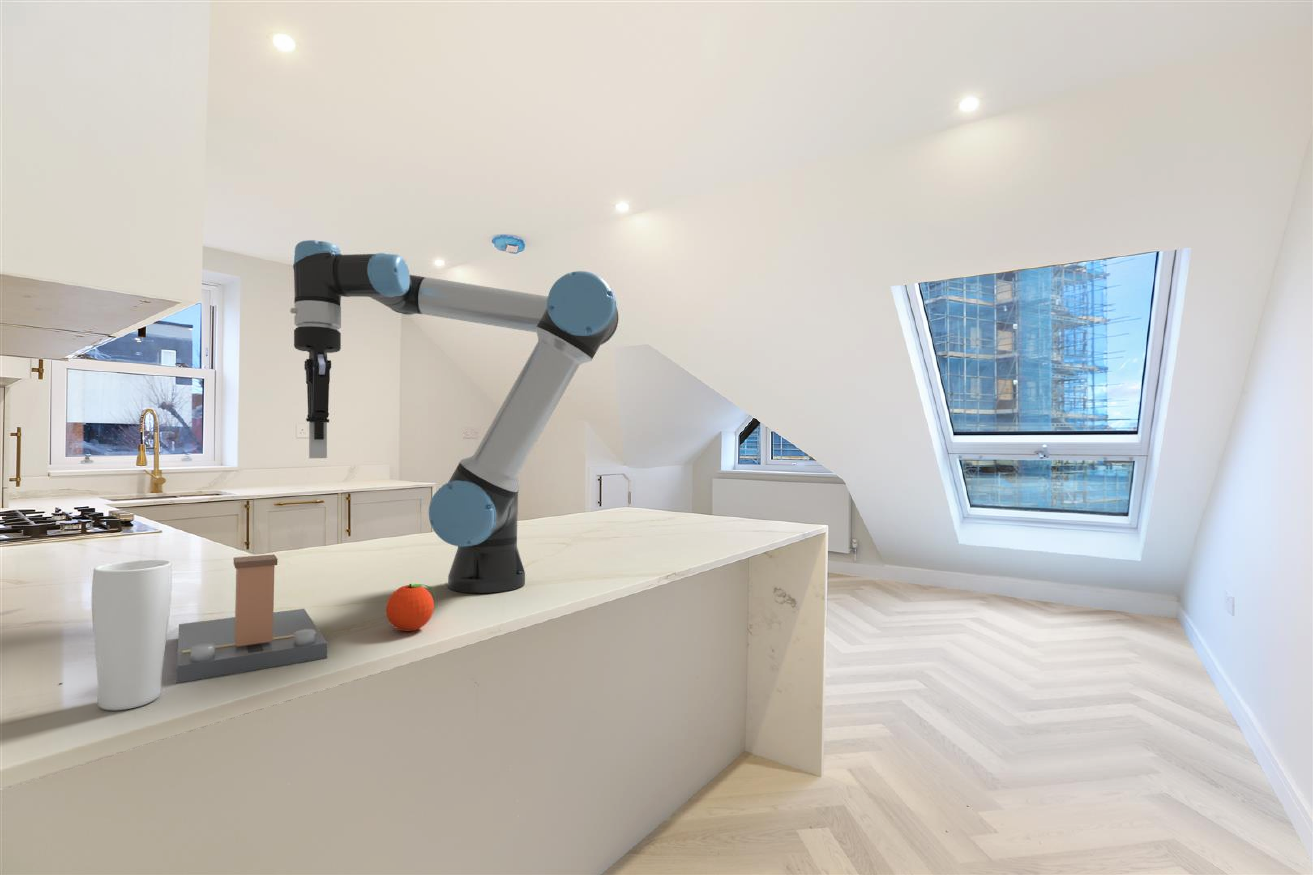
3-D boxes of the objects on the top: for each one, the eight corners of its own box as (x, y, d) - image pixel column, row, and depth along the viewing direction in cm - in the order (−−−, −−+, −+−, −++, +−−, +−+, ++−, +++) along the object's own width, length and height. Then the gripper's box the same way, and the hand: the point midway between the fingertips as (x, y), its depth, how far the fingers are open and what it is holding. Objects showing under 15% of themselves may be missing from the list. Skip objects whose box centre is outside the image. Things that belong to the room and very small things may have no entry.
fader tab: (272, 633, 86) (274, 554, 86) (275, 641, 83) (277, 558, 83) (231, 639, 84) (233, 557, 84) (233, 647, 80) (235, 562, 81)
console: (303, 621, 101) (304, 599, 101) (327, 657, 84) (327, 631, 84) (178, 637, 92) (179, 613, 92) (176, 683, 75) (177, 653, 75)
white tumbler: (76, 707, 68) (80, 566, 68) (150, 686, 74) (153, 557, 74) (106, 720, 65) (110, 573, 65) (181, 697, 71) (184, 563, 71)
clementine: (420, 619, 103) (421, 576, 103) (448, 627, 99) (449, 581, 99) (375, 631, 96) (376, 584, 96) (404, 639, 93) (405, 591, 93)
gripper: (290, 332, 119) (291, 458, 118) (297, 320, 108) (297, 458, 107) (335, 336, 123) (335, 458, 122) (346, 324, 112) (346, 457, 112)
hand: (318, 458), depth 115 cm, fingers closed
